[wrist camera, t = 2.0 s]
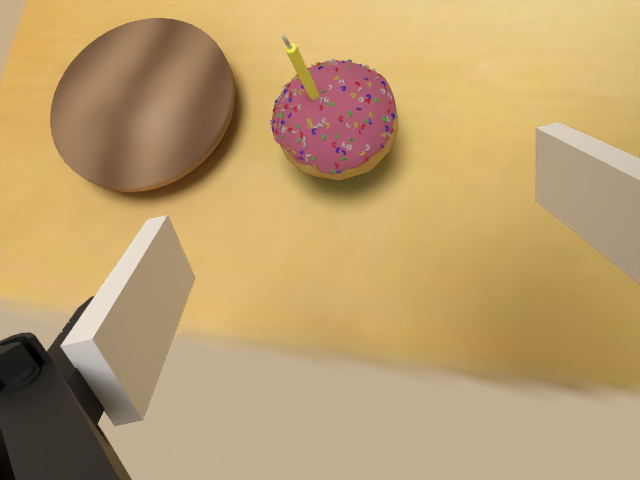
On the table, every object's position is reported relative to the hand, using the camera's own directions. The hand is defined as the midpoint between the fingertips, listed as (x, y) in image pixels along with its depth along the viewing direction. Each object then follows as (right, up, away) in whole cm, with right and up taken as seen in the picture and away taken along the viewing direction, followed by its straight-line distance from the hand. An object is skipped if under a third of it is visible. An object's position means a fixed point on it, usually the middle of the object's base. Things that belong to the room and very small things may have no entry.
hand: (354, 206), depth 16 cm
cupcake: (0, +6, +19) cm, 20 cm away
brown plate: (-15, +9, +22) cm, 28 cm away
